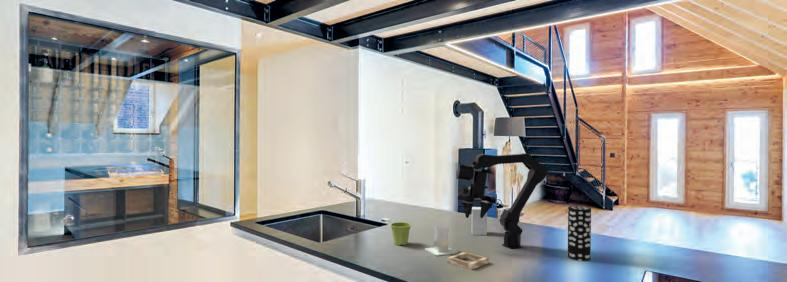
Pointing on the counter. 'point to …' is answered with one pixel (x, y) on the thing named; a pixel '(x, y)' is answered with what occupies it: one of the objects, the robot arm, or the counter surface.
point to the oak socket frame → (476, 262)
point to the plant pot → (400, 232)
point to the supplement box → (478, 222)
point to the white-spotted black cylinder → (579, 233)
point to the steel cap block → (441, 238)
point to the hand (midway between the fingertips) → (474, 217)
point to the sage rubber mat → (433, 251)
